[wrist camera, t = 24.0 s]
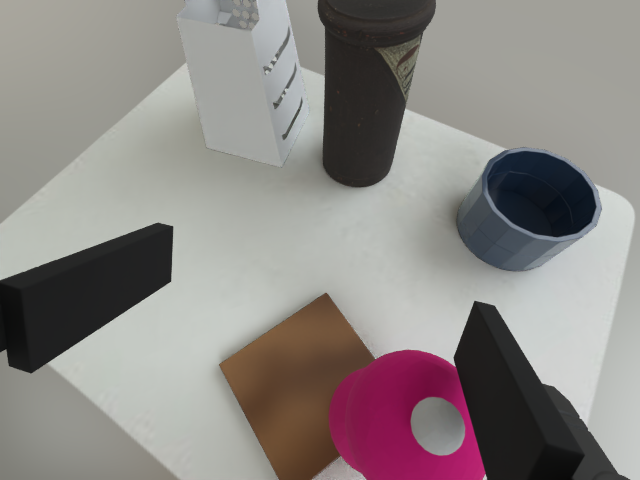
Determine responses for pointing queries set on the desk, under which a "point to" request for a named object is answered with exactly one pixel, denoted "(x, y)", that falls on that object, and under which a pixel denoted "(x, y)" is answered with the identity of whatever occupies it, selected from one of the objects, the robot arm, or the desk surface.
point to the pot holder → (296, 386)
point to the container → (367, 82)
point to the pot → (527, 209)
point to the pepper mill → (405, 420)
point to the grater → (244, 77)
